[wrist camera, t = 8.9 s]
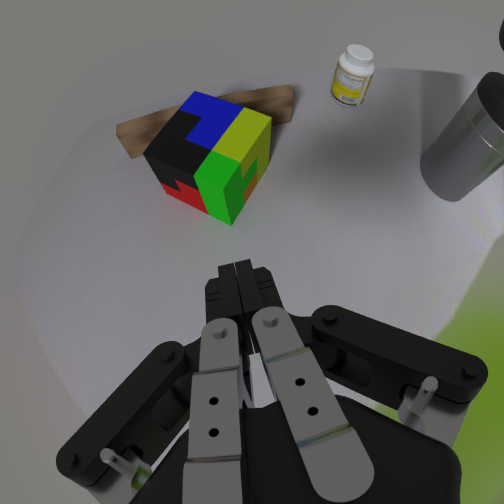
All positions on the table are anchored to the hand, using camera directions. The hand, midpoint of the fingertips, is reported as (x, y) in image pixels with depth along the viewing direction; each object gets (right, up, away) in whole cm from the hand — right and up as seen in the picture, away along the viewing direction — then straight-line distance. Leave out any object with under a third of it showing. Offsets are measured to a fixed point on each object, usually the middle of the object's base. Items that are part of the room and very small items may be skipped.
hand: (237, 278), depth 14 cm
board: (-6, +19, +27) cm, 33 cm away
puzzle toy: (-4, +11, +25) cm, 28 cm away
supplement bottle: (+16, +27, +29) cm, 43 cm away
